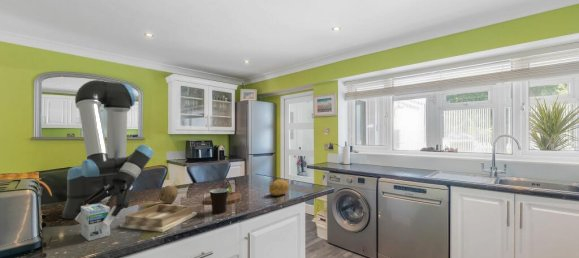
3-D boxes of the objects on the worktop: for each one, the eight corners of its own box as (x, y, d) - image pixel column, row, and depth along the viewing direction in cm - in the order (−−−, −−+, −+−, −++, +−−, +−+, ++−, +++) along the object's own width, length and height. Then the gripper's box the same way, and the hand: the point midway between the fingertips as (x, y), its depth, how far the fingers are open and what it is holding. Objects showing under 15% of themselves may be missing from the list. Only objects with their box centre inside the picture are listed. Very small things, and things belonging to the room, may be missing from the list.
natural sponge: (158, 207, 131) (158, 187, 131) (159, 203, 139) (159, 184, 140) (177, 205, 135) (177, 186, 135) (178, 201, 143) (177, 183, 143)
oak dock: (120, 227, 103) (120, 216, 103) (159, 211, 124) (159, 202, 124) (162, 231, 98) (162, 220, 98) (196, 214, 118) (196, 205, 118)
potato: (265, 179, 154) (273, 180, 147) (282, 178, 162) (291, 178, 155) (265, 195, 153) (274, 197, 146) (283, 193, 161) (292, 194, 154)
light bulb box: (110, 235, 95) (110, 206, 95) (88, 241, 90) (88, 211, 90) (101, 229, 102) (101, 202, 102) (79, 234, 96) (79, 206, 96)
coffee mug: (223, 214, 118) (223, 193, 118) (206, 213, 119) (206, 192, 119) (234, 207, 129) (233, 187, 129) (218, 206, 131) (218, 187, 131)
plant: (246, 196, 153) (245, 177, 153) (235, 205, 134) (234, 184, 134) (214, 195, 156) (214, 177, 156) (199, 204, 136) (198, 183, 136)
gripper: (155, 181, 109) (124, 230, 94) (110, 179, 115) (74, 224, 101) (145, 171, 104) (110, 220, 89) (98, 169, 110) (59, 215, 96)
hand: (91, 222), depth 95 cm, fingers open, 13 cm apart
